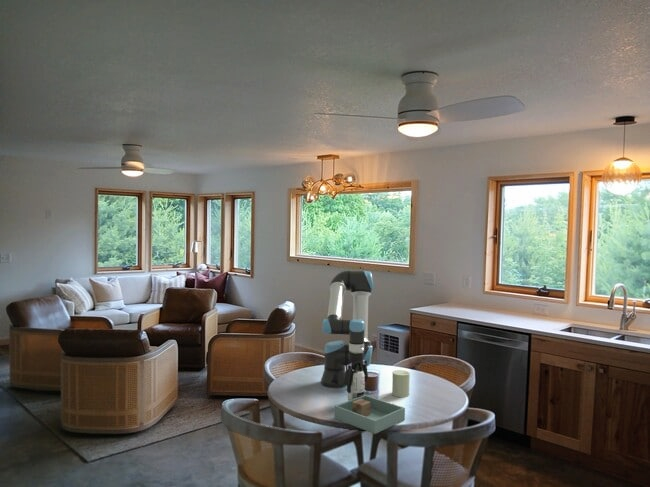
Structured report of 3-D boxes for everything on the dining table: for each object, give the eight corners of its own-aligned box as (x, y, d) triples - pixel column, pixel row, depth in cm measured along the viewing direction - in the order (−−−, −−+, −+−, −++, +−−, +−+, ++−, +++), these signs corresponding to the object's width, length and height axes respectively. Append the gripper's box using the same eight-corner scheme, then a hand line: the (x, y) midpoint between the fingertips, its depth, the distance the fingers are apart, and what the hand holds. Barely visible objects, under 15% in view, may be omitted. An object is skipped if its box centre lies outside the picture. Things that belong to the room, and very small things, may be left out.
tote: (334, 418, 219) (334, 406, 219) (364, 406, 235) (365, 394, 234) (374, 434, 203) (375, 421, 203) (404, 420, 218) (404, 407, 218)
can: (409, 397, 247) (409, 374, 247) (391, 396, 249) (391, 373, 249) (409, 392, 256) (410, 369, 256) (392, 390, 258) (392, 368, 258)
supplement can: (346, 398, 242) (347, 368, 241) (362, 397, 243) (363, 368, 242) (348, 404, 234) (349, 374, 233) (365, 403, 235) (365, 373, 234)
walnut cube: (352, 414, 222) (352, 401, 222) (360, 411, 226) (360, 398, 226) (362, 418, 218) (362, 405, 218) (370, 414, 222) (370, 402, 222)
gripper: (348, 357, 227) (347, 404, 228) (375, 348, 242) (375, 393, 243) (336, 353, 232) (336, 399, 233) (364, 346, 247) (363, 389, 248)
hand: (356, 396), depth 238 cm, fingers closed on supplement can, 8 cm apart
